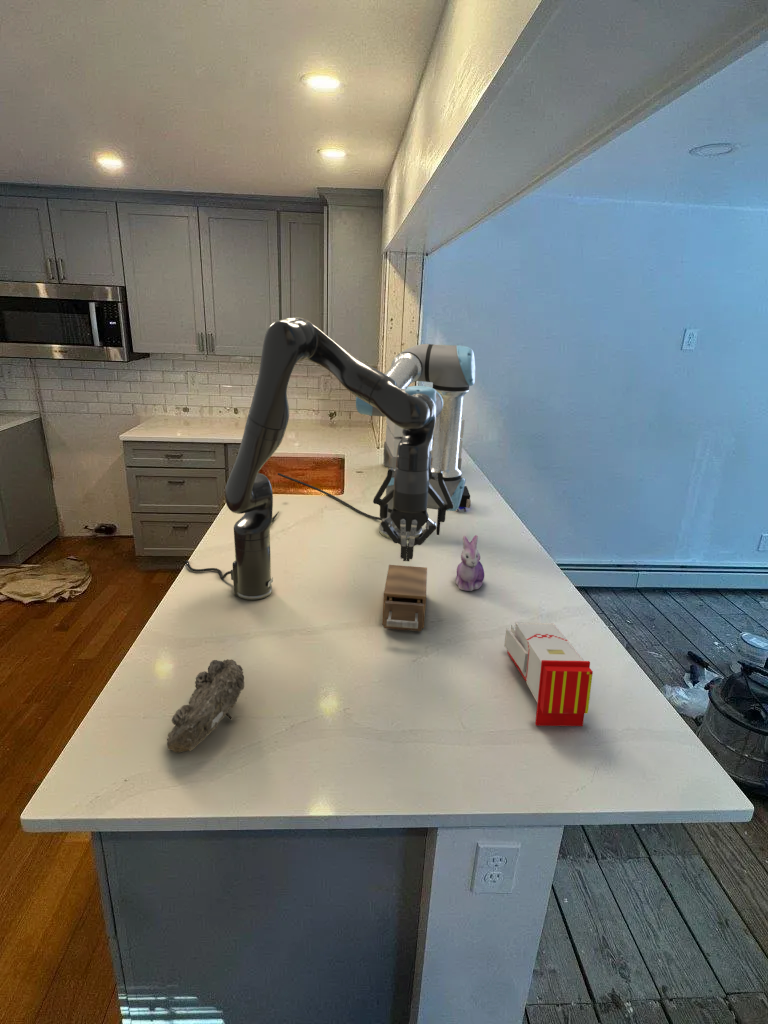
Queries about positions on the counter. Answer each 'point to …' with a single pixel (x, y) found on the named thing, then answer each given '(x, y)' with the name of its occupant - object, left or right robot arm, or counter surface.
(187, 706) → the fossil
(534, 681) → the toy
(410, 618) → the drawer
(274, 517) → the feather
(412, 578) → the cabinet
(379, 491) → the right robot arm
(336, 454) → the counter surface
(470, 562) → the figurine
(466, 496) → the figurine character
